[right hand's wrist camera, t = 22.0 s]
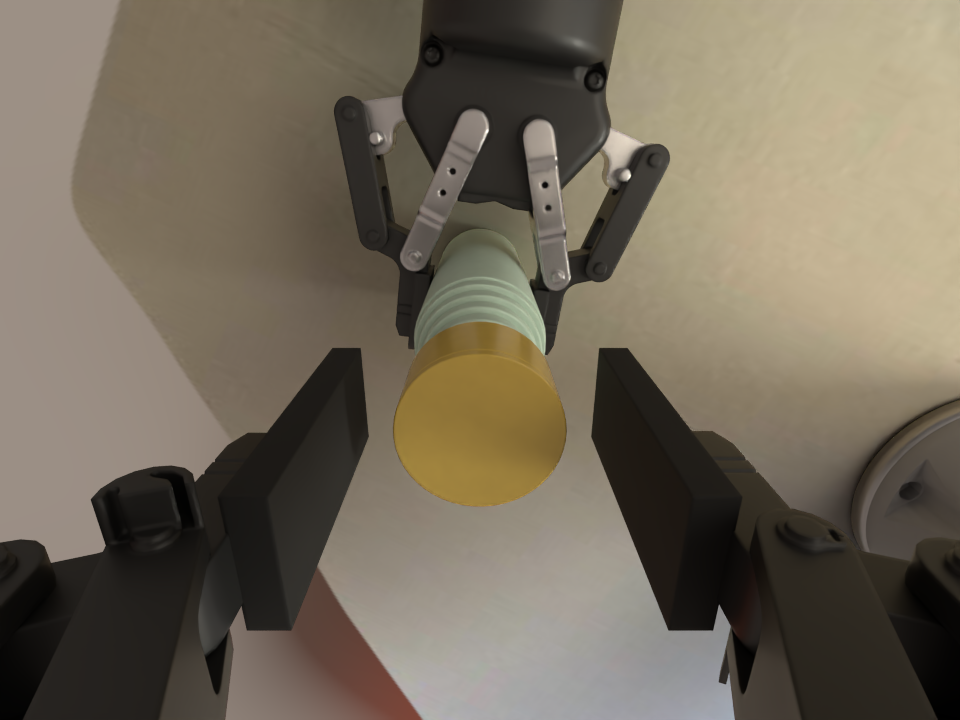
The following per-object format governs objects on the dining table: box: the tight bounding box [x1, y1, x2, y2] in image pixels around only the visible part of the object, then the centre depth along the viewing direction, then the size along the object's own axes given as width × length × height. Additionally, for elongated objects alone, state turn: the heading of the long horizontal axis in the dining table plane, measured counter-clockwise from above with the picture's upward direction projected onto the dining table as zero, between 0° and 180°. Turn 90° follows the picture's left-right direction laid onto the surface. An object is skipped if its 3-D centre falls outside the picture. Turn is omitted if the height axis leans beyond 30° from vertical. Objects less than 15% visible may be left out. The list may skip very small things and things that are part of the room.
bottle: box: [414, 229, 546, 356], centre depth 22 cm, size 5×5×18 cm
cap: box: [393, 322, 567, 506], centre depth 13 cm, size 4×4×2 cm
